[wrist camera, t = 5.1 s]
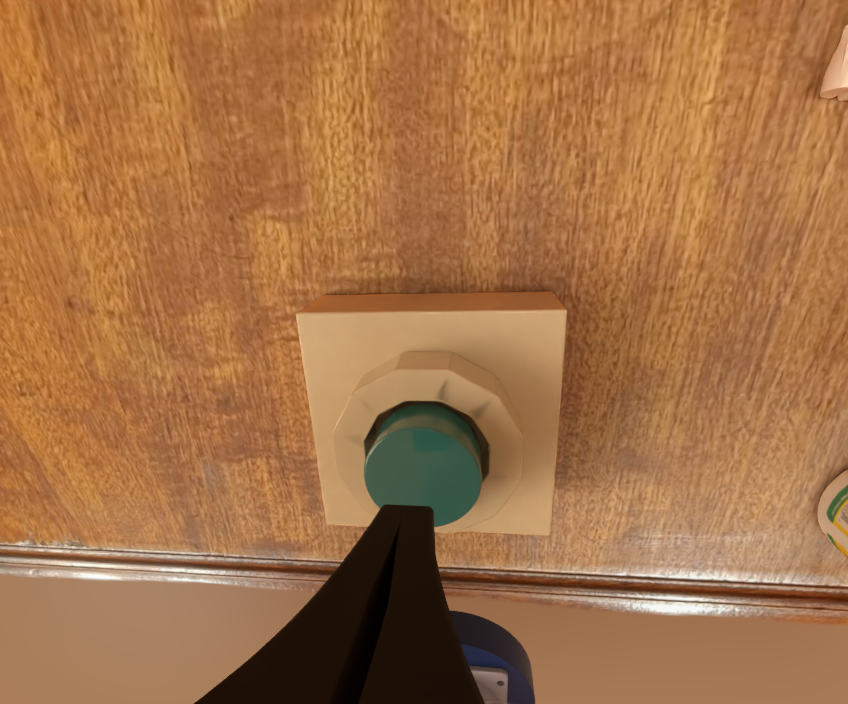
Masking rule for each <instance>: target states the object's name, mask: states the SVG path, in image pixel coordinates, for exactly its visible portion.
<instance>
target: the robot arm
mask: <svg viewBox="0 0 848 704" xmlns="http://www.w3.org/2000/svg"><path fill="white" fill-rule="evenodd" d="M507 690H508V673H507V671H506V670H505V669H503V668H495V667H483V666H472V665H468V663H467V660H466V657H465V655H464V652H463V649H462V647H461V644H460V641H459V639H458V636H457V633H456V630H455V627H454V624H453V621H452V618H451V615H450V612H449V608H448V605H447V601H446V598H445V594H444V591H443V587H442V583H441V579H440V575H439V570H438V565H437V560H436V555H435V532H434V510H433V509H432V508H431V507H430V506H412V505H389V504H384V505H383V506H382V507H381V508H380V510H379V511H378V513H377V515H376V516H375V518H374V519H373V521H372V522H371V524H370V525H369V527H368V528H367V530H366V531H365V532H364V534H363V535H362V537H361V538H360V539H359V541H358V542H357V544H356V545H355V546H354V548H353V549H352V550H351V551H350V553H349V554H348V555H347V557H346V558H345V559H344V561H343V562H342V563H341V565H340V566H339V567H338V568H337V570H336V571H335V572H334V573H333V574H332V575H331V577H330V578H329V579H328V580H327V581H326V583H325V584H324V585H323V586H322V587H321V588H320V590H319V591H318V592H317V593H316V594H315V595H314V596H313V598H312V599H311V600H310V601H309V602H308V603H307V604H306V605H305V606H304V607H303V608H302V609H301V610H300V611H299V613H298V614H297V615H296V616H295V617H294V618H293V619H292V620H291V621H290V622H289V623H288V624H287V625H286V626H285V627H284V628H283V629H282V630H280V631H279V632H278V633H277V634H276V635H275V636H274V637H273V638H272V639H271V640H270V641H269V642H268V643H266V644H265V646H263V647H262V648H261V649H260V650H259V651H258V652H257V653H256V654H254V655H253V656H252V657H251V658H250V659H249V660H248V661H246V662H245V663H244V664H243V665H242V666H240V667H239V668H238V669H237V670H236V671H234V672H233V673H232V674H231V675H229V676H228V677H227V678H226V679H224V680H223V681H222V682H221V683H219V684H218V685H217V686H216V687H214V688H213V689H212V690H211V691H209V692H208V693H207V694H206V695H204V696H203V697H202V698H201V699H199V700H198V701H197V702H195V703H194V704H507Z"/></svg>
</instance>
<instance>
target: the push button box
mask: <svg viewBox="0 0 848 704" xmlns="http://www.w3.org/2000/svg"><path fill="white" fill-rule="evenodd" d="M296 319H297V326H298V333H299V340H300V347H301V354H302V360H303V367H304V374H305V381H306V388H307V395H308V402H309V408H310V415H311V422H312V429H313V436H314V443H315V450H316V456H317V463H318V470H319V477H320V484H321V491H322V498H323V504H324V511H325V518H326V524H327V525H339V526H359V527H369V525H370V524H371V522H372V521H373V519H374V518H375V516H376V515H377V513H378V511H379V510H380V508H379V507H378V506H377V505H376V504H375V503H374V501H373V500H372V498H371V497H370V495H369V493H368V491H367V488H366V485H365V480H364V464H365V460H366V457H367V455H368V452H369V450H370V448H371V445H372V443H373V441H374V438H375V436H376V433H377V431H378V429H379V427H380V426H381V424H382V423H383V422H384V421H385V420H386V418H388V417H389V416H390V415H391V414H393V413H394V412H396V411H398V410H400V409H402V408H404V407H408V406H411V405H417V404H431V405H437V406H441V407H444V408H447V409H449V410H451V411H453V412H455V413H457V414H458V415H460V416H461V417H462V418H464V419H465V420H466V421H467V422H468V423H469V424H470V425H471V427H472V428H473V429H474V431H475V433H476V435H477V436H478V439H479V442H480V446H481V456H482V488H481V492H480V495H479V497H478V500H477V501H476V503H475V505H474V506H473V507H472V509H471V510H470V511H469V512H468V513H467V514H466V515H464V516H463V517H462V518H460V519H459V520H457V521H455V522H453V523H450V524H447V525H444V526H439V527H434V532H435V533H455V532H478V533H498V534H518V535H538V536H550V535H551V526H552V513H553V499H554V486H555V473H556V459H557V446H558V432H559V419H560V405H561V392H562V378H563V365H564V351H565V338H566V325H567V309H566V308H565V307H564V306H563V304H562V303H561V302H560V301H559V300H558V298H557V297H556V296H555V295H554V293H553V292H551V291H544V292H483V293H423V294H362V295H323V296H322V297H320V298H319V299H317V300H315V301H314V302H312V303H311V304H309V305H308V306H306V307H305V308H303V309H302V310H300V311H298V312H297V313H296Z"/></svg>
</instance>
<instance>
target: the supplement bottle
mask: <svg viewBox="0 0 848 704" xmlns="http://www.w3.org/2000/svg"><path fill="white" fill-rule="evenodd" d="M817 516H818V521H819V524H820V527H821V529H822V531H823V533H824V534H825V535H826V536H827V538H828V539H829V540H830V541H831V542H832V543H833V544H834V545H835V546H836V547H837V548H838V549H839V550H840V551H841V552H842V553H843V554H844V555H845V556H846V557H847V558H848V469H847V470H846V471H844V472H843V473H841V474H840V475H839V476H837V477H836V478H835V479H834V480H833V481H832V482H831V483H830V484H829V485H828V486H827V488H826V489H825V491H824V492H823V494H822V496H821V498H820V501H819V504H818V509H817Z"/></svg>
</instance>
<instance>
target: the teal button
mask: <svg viewBox="0 0 848 704" xmlns="http://www.w3.org/2000/svg"><path fill="white" fill-rule="evenodd" d="M364 480H365V485H366V488H367V491H368V493H369V495H370V497H371V498H372V500H373V501H374V503H375V504H376V505H377V506H378V507H379V508H381V507H382V506H383V505H384V504H389V505H412V506H430V507H431V508H432V509H433V510H434V527H439V526H444V525H447V524H450V523H453V522H455V521H457V520H459V519H460V518H462V517H463V516H464V515H466V514H467V513H468V512H469V511H470V510H471V509H472V507H473V506H474V505H475V503H476V501H477V500H478V497H479V495H480V492H481V488H482V456H481V446H480V442H479V439H478V436H477V435H476V433H475V431H474V429H473V428H472V427H471V425H470V424H469V423H468V422H467V421H466V420H465V419H464V418H462V417H461V416H460V415H458V414H457V413H455V412H453V411H451V410H449V409H447V408H444V407H441V406H437V405H431V404H417V405H411V406H408V407H404V408H402V409H400V410H398V411H396V412H394V413H393V414H391V415H390V416H389V417H388V418H386V420H385V421H384V422H383V423H382V424H381V426H380V427H379V429H378V431H377V433H376V436H375V438H374V441H373V443H372V445H371V448H370V450H369V452H368V455H367V457H366V460H365V464H364Z"/></svg>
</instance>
